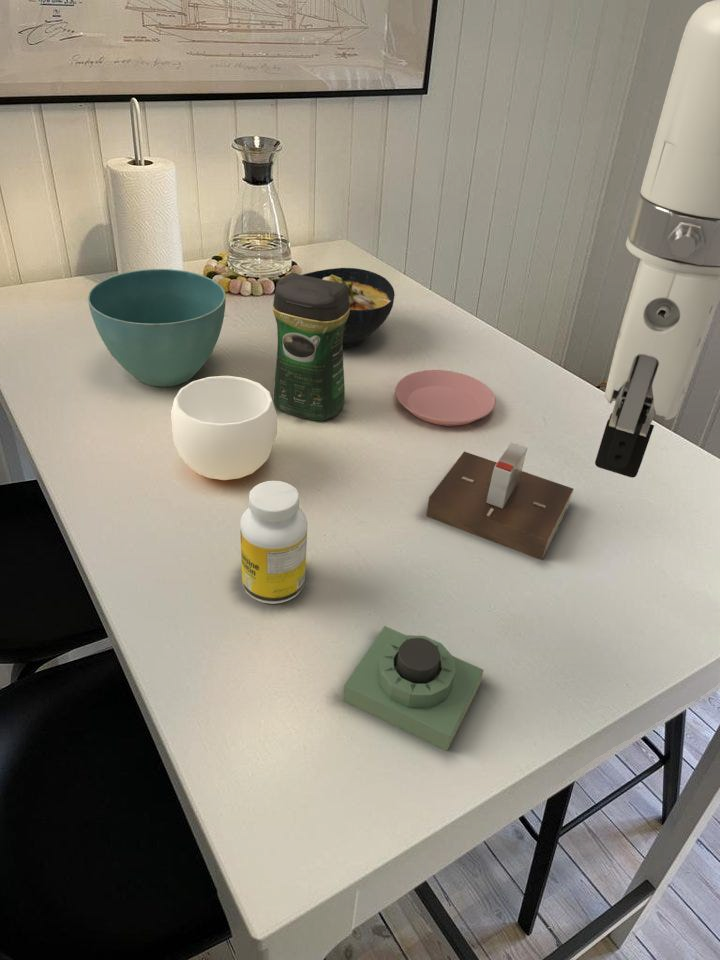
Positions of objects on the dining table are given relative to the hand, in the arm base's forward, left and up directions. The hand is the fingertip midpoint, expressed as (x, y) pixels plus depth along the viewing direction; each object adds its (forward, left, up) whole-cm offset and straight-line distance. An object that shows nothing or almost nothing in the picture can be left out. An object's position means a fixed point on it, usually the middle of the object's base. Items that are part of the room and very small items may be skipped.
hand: (616, 466), depth 58 cm
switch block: (+10, +11, -23) cm, 27 cm away
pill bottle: (+28, +6, -23) cm, 36 cm away
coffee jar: (+43, -26, -23) cm, 55 cm away
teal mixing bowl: (+65, -22, -23) cm, 72 cm away
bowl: (+50, -47, -23) cm, 73 cm away
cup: (+44, -8, -23) cm, 50 cm away
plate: (+27, -37, -23) cm, 51 cm away
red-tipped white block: (+12, -18, -20) cm, 29 cm away
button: (+10, +11, -19) cm, 24 cm away
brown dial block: (+12, -18, -23) cm, 32 cm away
